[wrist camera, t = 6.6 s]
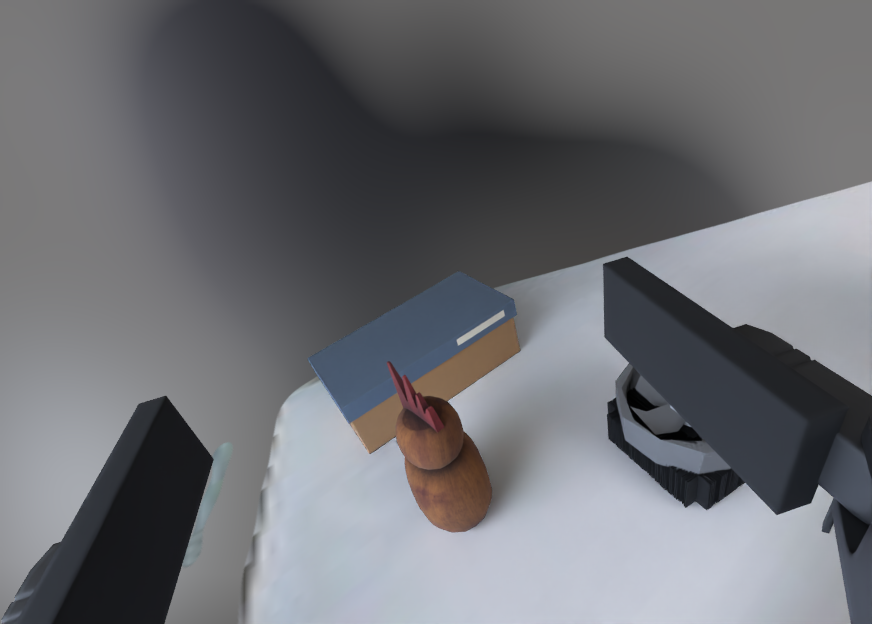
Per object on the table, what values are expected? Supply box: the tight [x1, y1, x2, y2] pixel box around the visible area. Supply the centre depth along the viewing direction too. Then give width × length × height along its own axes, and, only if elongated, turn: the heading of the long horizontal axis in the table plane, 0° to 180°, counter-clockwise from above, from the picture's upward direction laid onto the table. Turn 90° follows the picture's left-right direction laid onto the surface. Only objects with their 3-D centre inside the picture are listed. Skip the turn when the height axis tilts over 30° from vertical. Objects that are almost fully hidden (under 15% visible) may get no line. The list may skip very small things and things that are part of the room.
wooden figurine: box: [387, 361, 492, 532], centre depth 31 cm, size 7×6×15 cm
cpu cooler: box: [607, 363, 745, 510], centre depth 33 cm, size 10×6×10 cm
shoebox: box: [308, 271, 520, 454], centre depth 47 cm, size 20×10×7 cm, turn 123°
